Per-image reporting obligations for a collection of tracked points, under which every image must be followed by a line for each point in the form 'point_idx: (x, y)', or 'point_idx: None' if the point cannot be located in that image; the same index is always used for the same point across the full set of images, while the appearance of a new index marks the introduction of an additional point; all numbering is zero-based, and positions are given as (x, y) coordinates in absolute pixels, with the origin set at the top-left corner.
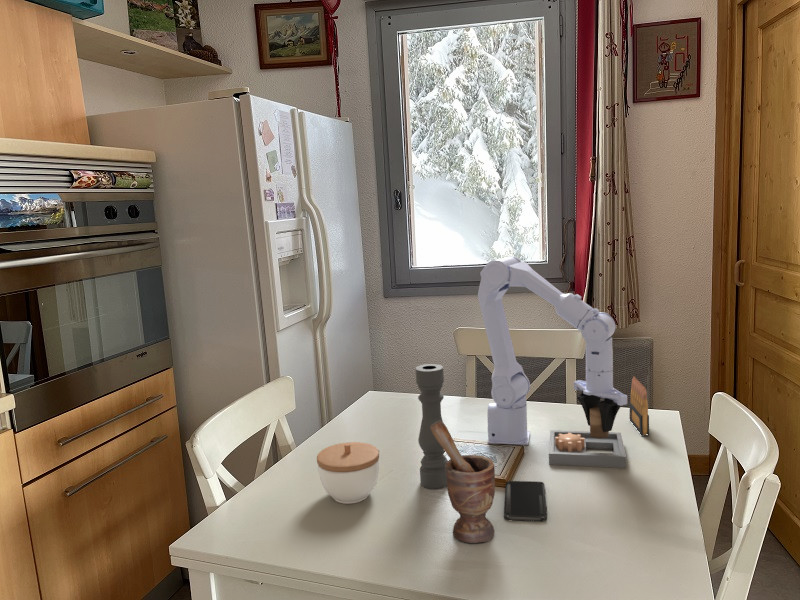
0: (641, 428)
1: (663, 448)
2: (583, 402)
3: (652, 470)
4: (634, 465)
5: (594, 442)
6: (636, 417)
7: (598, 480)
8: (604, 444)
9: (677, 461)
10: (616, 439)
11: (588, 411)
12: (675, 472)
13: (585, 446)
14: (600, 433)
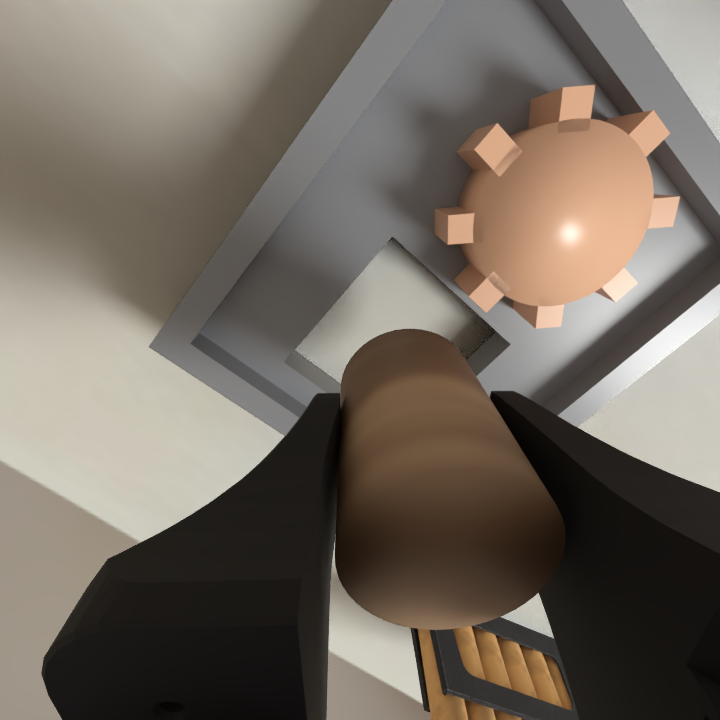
0: None
1: None
2: (695, 522)
3: (102, 400)
4: (187, 376)
5: None
6: (503, 671)
7: (80, 44)
8: None
9: (148, 532)
10: None
11: (561, 470)
12: (49, 459)
13: (461, 296)
14: (353, 371)
